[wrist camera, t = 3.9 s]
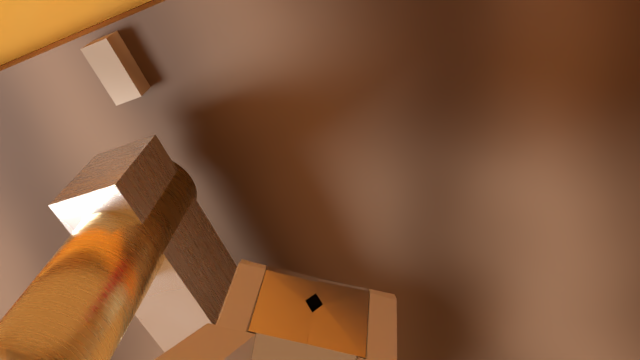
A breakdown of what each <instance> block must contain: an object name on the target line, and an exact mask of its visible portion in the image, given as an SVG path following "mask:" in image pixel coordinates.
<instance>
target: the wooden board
mask: <svg viewBox="0 0 640 360" xmlns="http://www.w3.org/2000/svg"><path fill="white" fill-rule="evenodd" d="M155 134H156V136H157V138H158V139H159V141H160V142H161V144H162V146H163V147H164V149H165V150H166V152H167V154H168V155H169V157H170V159H171V160H172V161H173V162H175V163H177V164H178V165H180V166H181V167H182V168H183V169H184V170H186V171H187V173H188V174H189V175H190V176H191V178H192V180H193V181H194V183H195V186H196V190H197V200H196V201H197V202H198V204H199V205H200V207H201V209H202V210H203V212H204V214H205V215H206V217H207V218H208V220H209V222H210V223H211V225H212V227H213V228H214V230H215V231H216V233H217V235H218V236H219V238H220V239H221V241H222V243H223V244H224V246H225V248H226V249H227V251H228V252H229V254H230V256H231V257H232V259H233V260H234V262H235V264H236V265H237V266H238V264H239V262H240V261H241V259H244V260H247V261H251V262H255V263H259V264H263V265H266V266H268V265H269V266H273V267H277V268H281V269H285V270H289V271H292V272H296V273H300V274H304V275H308V276H312V277H316V278H322V279H326V280H331V281H335V282H340V283H344V284H349V285H353V286H358V287H362V288H367V289H368V290H369V289H372V290H377V291H381V292H386V293H391V294H394V295H395V297H396V299H397V360H640V0H152V1H150V2H148V3H145V4H143V5H141V6H138V7H136V8H134V9H131V10H129V11H127V12H124V13H122V14H120V15H117V16H115V17H113V18H110V19H108V20H106V21H104V22H101V23H99V24H97V25H94V26H92V27H90V28H87V29H85V30H83V31H80V32H78V33H76V34H73V35H71V36H69V37H66V38H64V39H62V40H59V41H57V42H55V43H52V44H50V45H48V46H46V47H43V48H41V49H39V50H36V51H34V52H32V53H29V54H27V55H25V56H22V57H20V58H18V59H15V60H13V61H11V62H8V63H6V64H4V65H1V66H0V320H1V319H2V318H3V317H4V316H5V314H6V313H7V312H8V311H9V309H10V308H11V307H12V306H13V305H14V303H15V302H16V301H17V300H18V298H19V297H20V296H21V295H22V294H23V292H24V291H25V290H26V289H27V287H28V286H29V285H30V284H31V283H32V281H33V280H34V279H35V278H36V276H37V275H38V274H39V273H40V272H41V270H42V269H43V268H44V267H45V265H46V264H47V263H48V262H49V261H50V259H51V258H52V257H53V256H54V254H55V253H56V252H57V251H58V250H59V248H60V247H61V246H62V245H63V243H64V242H65V241H66V240H67V239H68V237H69V236H70V235H71V234H70V232H69V231H68V230H67V229H66V227H65V226H64V225H63V224H62V222H61V221H60V220H59V219H58V217H57V216H56V215H55V214H54V212H53V211H52V210H51V209H50V207H49V206H48V205H49V204H50V203H51V202H52V201H53V200H54V199H55V198H56V197H57V196H58V194H59V193H60V192H61V191H62V190H63V189H64V188H65V187H66V186H67V185H68V184H69V183H70V182H71V181H72V180H73V179H74V178H75V176H76V175H77V174H78V173H79V172H80V171H81V170H82V169H83V168H84V167H85V166H86V165H87V164H88V163H89V162H90V161H91V160H92V158H93V157H94V156H95V155H96V154H99V153H102V152H105V151H108V150H111V149H114V148H117V147H120V146H123V145H126V144H129V143H132V142H134V141H137V140H140V139H143V138H146V137H149V136H152V135H155ZM163 353H165V352H164V351H163V350H162V349H161V347H160V346H159V345H158V344H157V342H156V341H155V340H154V338H153V337H152V336H151V335H150V333H149V332H148V331H147V330H146V328H145V327H144V326H143V325H142V323H141V322H140V321H139V320H138V318H137V317H136V316H135V315H134V317H133V319H132V321H131V323H130V325H129V326H128V328H127V330H126V332H125V334H124V336H123V337H122V339H121V341H120V343H119V345H118V346H117V348H116V350H115V352H114V354H113V356H112V357H111V359H110V360H154V359H156V358H157V357H159V356H160V355H162V354H163Z"/></svg>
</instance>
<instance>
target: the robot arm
mask: <svg viewBox="0 0 640 360" xmlns="http://www.w3.org/2000/svg"><path fill="white" fill-rule="evenodd" d="M154 360H397V299H396V297H395V295H394V294H391V293H386V292H381V291H377V290H372V289H369V290H368V289H367V288H362V287H358V286H353V285H349V284H344V283H340V282H335V281H331V280H326V279H322V278H316V277H312V276H308V275H304V274H300V273H296V272H292V271H289V270H285V269H281V268H277V267H273V266H269V265H268V266H266V265H263V264H259V263H255V262H251V261H247V260H244V259H241V261H240V262H239V264H238V266H237V268H236V271H235V274H234V277H233V279H232V282H231V285H230V287H229V290H228V293H227V295H226V298H225V301H224V304H223V306H222V309H221V312H220V314H219V317H218V320H217V323H216V325H215V324H210V323H207V324H206V325H204V326H203V327H201V328H200V329H198V330H197V331H195V332H194V333H193V334H191V335H190V336H188V337H187V338H185V339H184V340H182V341H181V342H179V343H178V344H176V345H175V346H174V347H172V348H171V349H169V350H168V351H166V352H165V353H163V354H162V355H160V356H159V357H157V358H156V359H154Z"/></svg>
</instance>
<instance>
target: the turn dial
mask: <svg viewBox="0 0 640 360" xmlns="http://www.w3.org/2000/svg"><path fill="white" fill-rule="evenodd" d="M196 200H197V190H196V186H195V183H194V181H193V180H192V178H191V176H190V175H189V174H188V173H187V171H186V170H184V169H183V168H182V167H181V166H180V165H178V164H177V163H175V162H173V161H172V160H171V159H170V157H169V155H168V154H167V152H166V150H165V149H164V147H163V146H162V144H161V142H160V141H159V139H158V138H157V136H156V134H155V135H152V136H149V137H146V138H143V139H140V140H137V141H134V142H132V143H129V144H126V145H123V146H120V147H117V148H114V149H111V150H108V151H105V152H102V153H99V154H96V155H95V156H94V157H93V158H92V160H91V161H90V162H89V163H88V164H87V165H86V166H85V167H84V168H83V169H82V170H81V171H80V172H79V173H78V174H77V175H76V176H75V178H74V179H73V180H72V181H71V182H70V183H69V184H68V185H67V186H66V187H65V188H64V189H63V190H62V191H61V192H60V193H59V194H58V196H57V197H56V198H55V199H54V200H53V201H52V202H51V203H50V204H49V205H48V206H49V207H50V209H51V210H52V211H53V212H54V214H55V215H56V216H57V217H58V219H59V220H60V221H61V222H62V224H63V225H64V226H65V227H66V229H67V230H68V231H69V232H70V234H71V235H70V236H69V237H68V239H67V240H66V241H65V242H64V243H63V245H62V246H61V247H60V248H59V250H58V251H57V252H56V253H55V254H54V256H53V257H52V258H51V259H50V261H49V262H48V263H47V264H46V265H45V267H44V268H43V269H42V270H41V272H40V273H39V274H38V275H37V276H36V278H35V279H34V280H33V281H32V283H31V284H30V285H29V286H28V287H27V289H26V290H25V291H24V292H23V294H22V295H21V296H20V297H19V298H18V300H17V301H16V302H15V303H14V305H13V306H12V307H11V308H10V309H9V311H8V312H7V313H6V314H5V316H4V317H3V318H2V319H1V320H0V360H110V359H111V357H112V356H113V354H114V352H115V350H116V348H117V346H118V345H119V343H120V341H121V339H122V337H123V336H124V334H125V332H126V330H127V328H128V326H129V325H130V323H131V321H132V319H133V317H134V315H135V316H136V317H137V318H138V320H139V321H140V322H141V323H142V325H143V326H144V327H145V328H146V330H147V331H148V332H149V333H150V335H151V336H152V337H153V338H154V340H155V341H156V342H157V344H158V345H159V346H160V347H161V349H162V350H163V351H164V352H166V351H168V350H169V349H171V348H172V347H174V346H175V345H176V344H178V343H179V342H181V341H182V340H184V339H185V338H187V337H188V336H190V335H191V334H193V333H194V332H195V331H197V330H198V329H200V328H201V327H203V326H204V325H206V324H207V323H210V324H215V325H216V323H217V320H218V317H219V314H220V312H221V309H222V306H223V304H224V301H225V298H226V295H227V293H228V290H229V287H230V285H231V282H232V279H233V277H234V274H235V271H236V268H237V265H236V264H235V262H234V260H233V259H232V257H231V256H230V254H229V252H228V251H227V249H226V248H225V246H224V244H223V243H222V241H221V239H220V238H219V236H218V235H217V233H216V231H215V230H214V228H213V227H212V225H211V223H210V222H209V220H208V218H207V217H206V215H205V214H204V212H203V210H202V209H201V207H200V205H199V204H198V202H197V201H196Z"/></svg>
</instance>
